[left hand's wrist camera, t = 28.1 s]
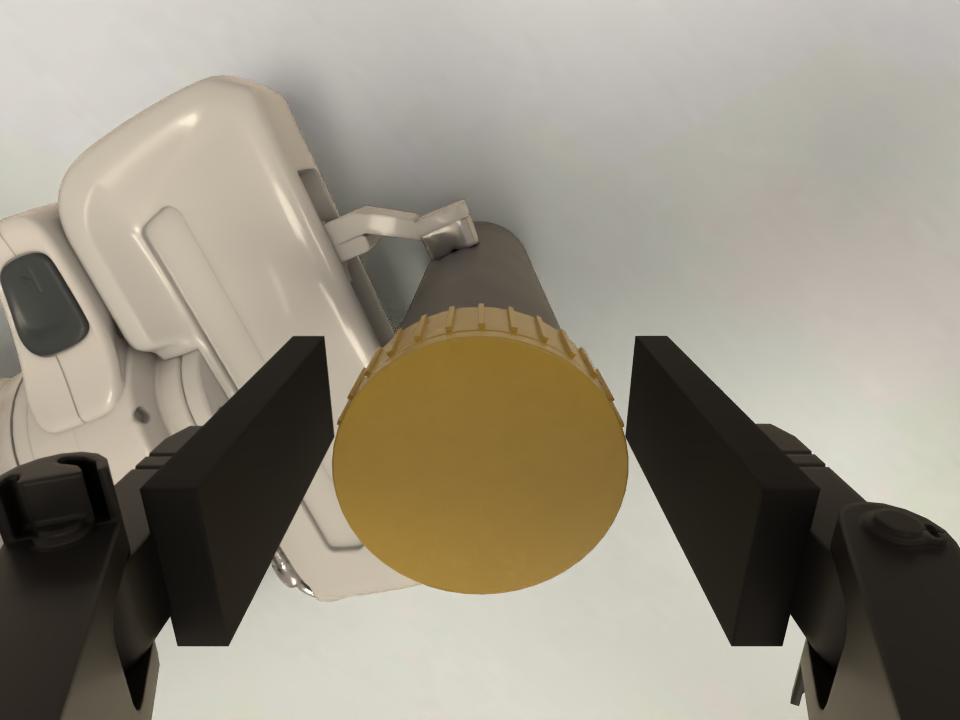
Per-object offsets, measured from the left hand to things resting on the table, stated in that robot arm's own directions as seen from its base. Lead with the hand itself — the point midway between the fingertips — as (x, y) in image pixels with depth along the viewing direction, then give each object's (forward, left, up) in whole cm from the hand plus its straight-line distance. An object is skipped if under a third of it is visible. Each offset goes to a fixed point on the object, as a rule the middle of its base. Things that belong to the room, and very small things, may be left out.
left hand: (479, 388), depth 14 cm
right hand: (-1, -1, -8) cm, 8 cm away
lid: (0, 0, +4) cm, 4 cm away
